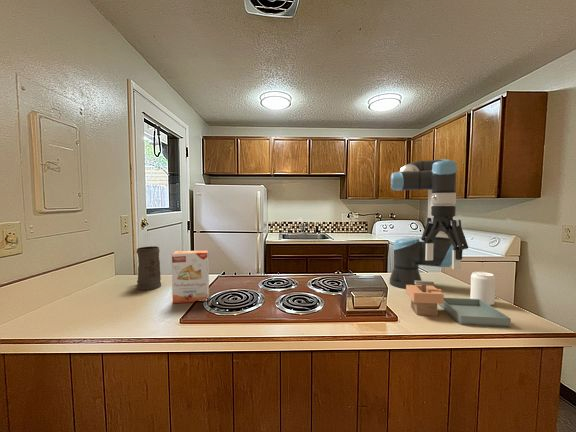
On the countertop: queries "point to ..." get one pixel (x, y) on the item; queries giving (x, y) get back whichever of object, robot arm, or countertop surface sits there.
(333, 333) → the countertop surface
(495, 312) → the tray
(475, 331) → the countertop surface
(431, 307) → the block
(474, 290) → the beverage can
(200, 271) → the cracker box
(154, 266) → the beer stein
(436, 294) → the orange square frame
